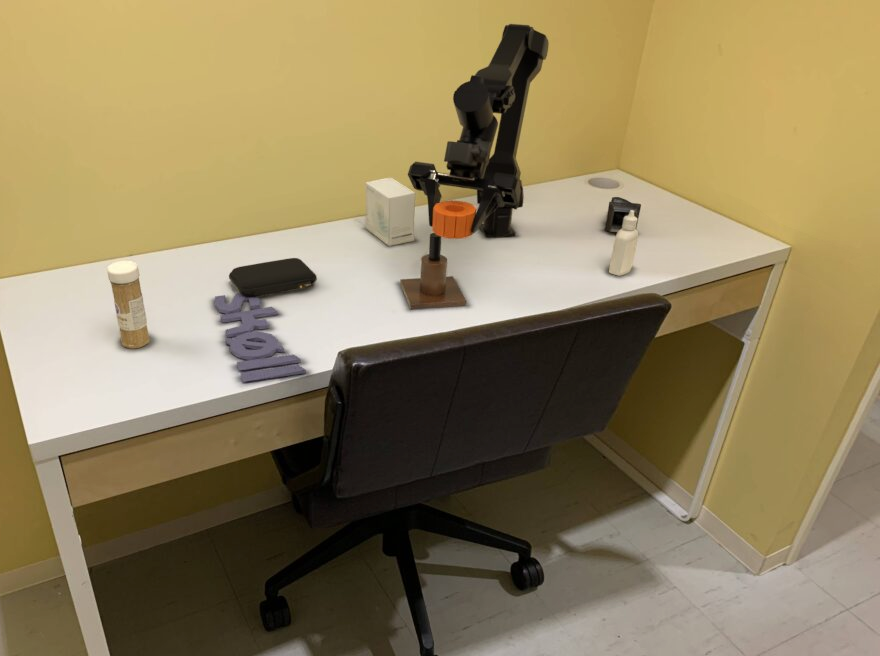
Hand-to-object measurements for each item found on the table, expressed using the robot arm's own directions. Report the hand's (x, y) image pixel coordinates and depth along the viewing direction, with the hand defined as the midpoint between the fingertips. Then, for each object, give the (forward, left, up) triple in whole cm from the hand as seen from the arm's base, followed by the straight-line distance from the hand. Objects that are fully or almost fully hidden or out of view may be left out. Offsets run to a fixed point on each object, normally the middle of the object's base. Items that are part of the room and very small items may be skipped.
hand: (451, 228), depth 129 cm
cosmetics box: (-31, -5, -14) cm, 34 cm away
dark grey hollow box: (-29, +45, -14) cm, 55 cm away
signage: (+7, -34, -14) cm, 37 cm away
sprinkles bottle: (+7, -53, -14) cm, 55 cm away
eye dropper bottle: (-8, +36, -14) cm, 39 cm away
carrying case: (-10, -30, -13) cm, 34 cm away
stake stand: (-3, -2, -13) cm, 14 cm away
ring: (-1, +1, -1) cm, 2 cm away
